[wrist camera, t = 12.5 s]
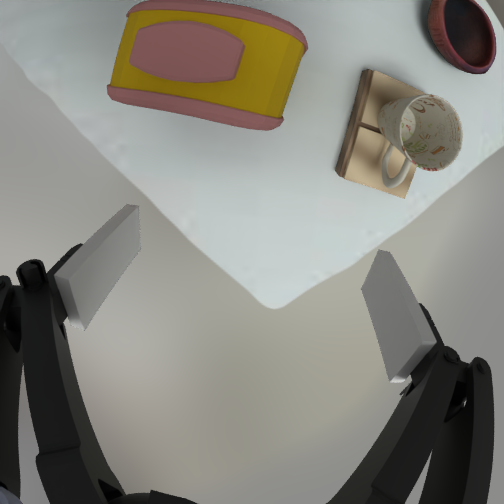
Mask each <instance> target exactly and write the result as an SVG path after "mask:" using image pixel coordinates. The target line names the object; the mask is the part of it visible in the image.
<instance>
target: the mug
mask: <svg viewBox="0 0 504 504" xmlns="http://www.w3.org/2000/svg"><path fill="white" fill-rule="evenodd" d="M378 126H379V129H380V131H381V133H382V135H383V136H384V137H385V138H386V139H387V140H388V141H389V142H390V143H391V144H390V145H389V147H388V149H387V151H386V153H385V155H384V157H383V160H382V165H381V175H382V181H383V184H384V185H385V186H386V187H387V188H394V187H396V186H398V185H399V184H401V183H402V182H403V180H404V179H405V177H406V175H407V173H408V171H409V169H410V167H411V164H412V163H413V164H414V165H416V166H417V167H419V168H421V169H424V170H427V171H439V170H442V169H444V168H446V167H448V166H449V165H450V164H452V163H453V161H454V160H455V159H456V157H457V156H458V154H459V152H460V149H461V146H462V139H463V132H462V125H461V122H460V119H459V116H458V114H457V113H456V111H455V109H454V108H453V107H452V106H451V105H450V104H449V103H448V102H447V101H446V100H444V99H443V98H441V97H439V96H436V95H431V94H422V95H417V96H412V97H407V98H403V99H398V100H394V101H390V102H388V103H386V104H385V105H384V106H383V107H382V108H381V110H380V112H379V115H378ZM394 146H395V147H396V148H397V149H398V150H399V151H400V152H401V153H402V154H403V155H404V156H405V157H406V158H405V161H404V163H403V165H402V168H401V170H400V172H399V173H398V175H396V176H395V177H394V178H390V177H389V175H388V162H389V158H390V156H391V153H392V150H393V147H394Z"/></svg>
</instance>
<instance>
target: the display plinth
mask: <svg viewBox="0 0 504 504" xmlns="http://www.w3.org/2000/svg"><path fill="white" fill-rule="evenodd" d="M422 94H425V93H423V92H421V91H419V90H417V89H415V88H413V87H411V86H409V85H407V84H405V83H403V82H401V81H399V80H396V79H394V78H392V77H390V76H387V75H385V74H382V73H380V72H378V71H375V70H374V71H372V70H370V69H368V70H364V71H362V75H361V79H360V83H359V87H358V91H357V95H356V99H355V103H354V106H353V110H352V114H351V118H350V121H349V125H348V128H347V132H346V136H345V139H344V143H343V146H342V149H341V153H340V156H339V160H338V163H337V166H336V170H335V171H336V173H337V174H338V175H339V176H340V177H343V178H344V179H346V180H349V181H353V182H356V183H359V184H362V185H365V186H368V187H372V188H375V189H378V190H381V191H384V192H387V193H390V194H392V195H395V196H398V197H401V198H404V199H405V197H406V194H407V192H408V189H409V187H410V184H411V181H412V178H413V176H414V173H415V170H416V167H417V166H416V165H414V164H413V163H412V164H411V167H410V169H409V171H408V173H407V175H406V177H405V179H404V180H403V182H402V183H401V184H399V185H398V186H396V187H394V188H387V187H386V186H385V185H384V184H383V181H382V175H381V165H382V160H383V157H384V155H385V153H386V151H387V149H388V147H389V145H390V144H391V143H390V142H389V141H388V140H387V139H386V138H385V137H384V136H383V135H382V133H381V131H380V129H379V126H378V115H379V112H380V110H381V108H382V107H383V106H384V105H385V104H386V103H388V102H390V101H394V100H398V99H403V98H407V97H412V96H417V95H422ZM405 158H406V157H405V156H404V155H403V154H402V153H401V152H400V151H399V150H398V149H397V148H396V147H395V146H394V147H393V150H392V153H391V156H390V158H389V162H388V175H389V177H390V178H394V177H395V176H396V175H398V173H399V172H400V170H401V168H402V165H403V163H404V161H405Z"/></svg>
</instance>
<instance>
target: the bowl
mask: <svg viewBox="0 0 504 504" xmlns="http://www.w3.org/2000/svg"><path fill="white" fill-rule="evenodd" d="M428 29H429V33H430V36H431V38H432V40H433V42H434V44H435V45H436V47H437V49H438V50H439V52H440V53H441V54H442V55H443V57H444V58H445V59H446V60H447V61H448V62H449V63H450V64H452V65H453V66H454V67H456V68H457V69H459V70H462V71H464V72H467V73H471V74H484V73H486V72H487V71H488V70H489V68H490V67H491V65H492V64H493V62H494V59H495V56H496V37H495V33H494V29H493V27H492V24H491V21H490V19H489V17H488V16H487V14H486V13H485V11H484V10H483V9H482V8H481V7H480V6H479V5H478V4H477V3H476V2H475V1H474V0H432V2H431V5H430V8H429V13H428Z"/></svg>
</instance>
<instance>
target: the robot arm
mask: <svg viewBox="0 0 504 504" xmlns="http://www.w3.org/2000/svg"><path fill="white" fill-rule="evenodd" d="M140 250H141V243H140V220H139V206H137V205H129V204H127V205H125V206H124V207H123V208H122V209H121V210H120V211H119V212H117V214H115V215H114V216H113V217H112V218H111V219H110V220H109V221H107V222H106V223H105V224H104V225H103V226H102V227H101V228H100V229H99V230H98V231H97V232H96V233H95V234H94V235H93V236H92V237H91V238H89V239H88V240H87V241H86V242H85V243H84V244H81V243H80V244H78V245H76V246H74V247H73V248H71V249H70V250H69V251H68V252H67V253H66V254H65V256H63V257H62V258H61V259H60V261H58V262H57V263H56V264H55V265H54V266H53V267H52V268H51V269H50V270H49V271H48V272H47V273H46V271H45V267H44V264H43V262H42V261H41V260H37V259H33V260H29V261H26V262H24V263H23V264H21V265H20V266H19V267H18V268H17V271H16V274H17V277H18V280H19V282H20V285H21V286H18V285H17V286H16V285H12V283H11V280H10V278H9V277H8V276H4V275H2V276H0V504H22V502H21V501H20V468H19V451H18V412H19V411H18V410H19V395H20V384H21V375H22V367H23V365H24V375H25V383H26V390H27V396H28V402H29V408H30V413H31V418H32V422H33V427H34V431H35V435H36V439H37V443H38V447H39V454H38V455H37V456H36V465H37V470H38V473H39V476H40V479H41V481H42V484H43V487H44V490H45V492H46V495H47V497H48V500H49V502H50V504H197V503H195V502H193V501H190V500H188V499H186V498H181V497H177V496H173V495H169V494H164V493H161V492H157V491H153V490H151V491H150V493H134V494H128V495H126V494H125V492H124V490H123V489H122V487H121V485H120V483H119V481H118V480H117V478H116V476H115V475H114V473H113V472H112V471H111V469H110V467H109V466H108V464H107V462H106V459H105V457H104V455H103V453H102V450H101V448H100V446H99V443H98V441H97V438H96V436H95V433H94V430H93V428H92V425H91V423H90V420H89V417H88V414H87V411H86V408H85V405H84V402H83V399H82V396H81V392H80V389H79V385H78V382H77V378H76V374H75V370H74V366H73V362H72V358H71V354H70V349H69V344H68V340H67V334H66V329H65V326H64V323H63V322H64V320H65V319H66V318H67V316H68V319H69V322H70V324H71V326H73V327H76V328H79V329H81V330H84V331H85V329H86V328H87V326H88V325H89V323H90V321H91V320H92V318H93V317H94V315H95V314H96V312H97V311H98V309H99V308H100V306H101V305H102V303H103V302H104V300H105V299H106V297H107V296H108V294H109V293H110V291H111V290H112V289H113V287H114V286H115V284H116V282H117V281H118V280H119V278H120V277H121V276H122V274H123V273H124V271H125V270H126V269H127V267H128V266H129V265H130V263H131V262H132V260H133V259H134V258H135V256H136V255H137V254H138V252H139V251H140ZM361 290H362V292H363V295H364V298H365V301H366V304H367V307H368V310H369V313H370V317H371V320H372V323H373V326H374V329H375V332H376V335H377V339H378V342H379V346H380V349H381V353H382V356H383V360H384V364H385V367H386V371H387V375H388V379H389V382H404V381H405V379H406V378H407V377H408V376H409V375H411V378H412V381H411V383H410V384H409V385H408V386H407V387H406V388H405V389H404V390H403V391H402V392H401V393H400V395H402V394H403V393H404V394H403V396H402V398H401V400H400V402H399V404H398V405H397V407H396V409H395V411H394V412H393V414H392V416H391V418H390V419H389V421H388V423H387V424H386V426H385V428H384V429H383V431H382V432H381V434H380V435H379V437H378V439H377V440H376V442H375V443H374V445H373V446H372V448H371V449H370V450H369V452H368V453H367V455H366V456H365V458H364V459H363V460H362V462H361V463H360V465H359V466H358V467H357V469H356V470H355V471H354V473H353V474H352V475H351V476H350V478H349V479H348V480H347V482H346V483H345V484H344V485H343V486H342V488H341V489H340V490H339V492H338V493H337V494H336V495H335V496H334V497H333V498H332V499H331V500H330V501H329V502H328V503H326V504H405V502H406V500H407V498H408V496H409V494H410V493H411V491H412V489H413V487H414V485H415V484H416V482H417V480H418V478H419V476H420V474H421V472H422V470H423V468H424V466H425V464H426V462H427V460H428V458H429V456H430V453H431V451H432V455H431V459H430V464H429V468H428V472H427V476H426V480H425V483H424V488H423V491H422V494H421V498H420V500H419V504H487V499H488V493H489V487H490V480H491V472H492V462H493V449H494V447H493V446H494V400H493V385H492V374H491V369H490V367H489V365H488V363H487V362H486V361H485V360H484V359H482V358H480V357H475V358H474V359H473V360H472V362H471V363H470V364H469V363H466V362H463V361H461V360H460V357H459V355H458V354H457V352H456V351H455V350H454V349H452V348H450V347H448V346H444V343H443V341H442V339H441V337H440V335H439V333H438V331H437V329H436V327H435V326H434V325H435V324H434V322H433V320H431V316H430V314H429V312H428V311H427V309H425V307H424V306H423V305H422V304H421V303H418V301H417V300H416V298H415V296H414V294H413V292H412V290H411V288H410V286H409V284H408V283H407V281H406V279H405V277H404V275H403V274H402V272H401V270H400V268H399V267H398V265H397V263H396V261H395V260H394V258H393V256H392V254H391V253H390V252H387V251H383V250H378V252H377V255H376V257H375V259H374V262H373V264H372V266H371V269H370V271H369V273H368V275H367V277H366V280H365V282H364V284H363V286H362V288H361ZM465 401H466V404H465V406H464V402H465Z"/></svg>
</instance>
